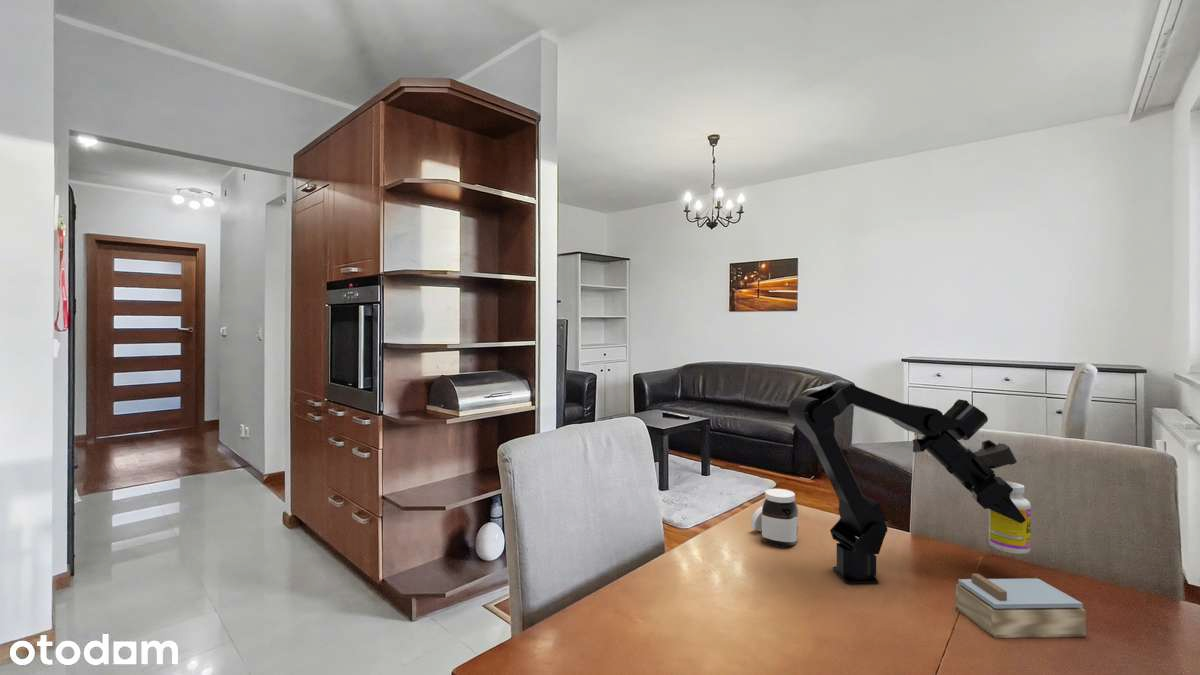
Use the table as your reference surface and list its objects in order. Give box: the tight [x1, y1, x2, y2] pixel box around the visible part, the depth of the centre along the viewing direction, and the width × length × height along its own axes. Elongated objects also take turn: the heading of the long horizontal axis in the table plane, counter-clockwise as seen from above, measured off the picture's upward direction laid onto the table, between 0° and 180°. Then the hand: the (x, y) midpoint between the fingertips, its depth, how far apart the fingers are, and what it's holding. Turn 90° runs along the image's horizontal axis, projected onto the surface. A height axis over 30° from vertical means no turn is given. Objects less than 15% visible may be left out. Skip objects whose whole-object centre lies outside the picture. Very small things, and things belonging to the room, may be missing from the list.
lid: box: [957, 573, 1084, 609], centre depth 89 cm, size 14×9×2 cm, turn 90°
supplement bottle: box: [988, 480, 1032, 555], centre depth 104 cm, size 7×7×13 cm
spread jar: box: [750, 488, 799, 547], centre depth 126 cm, size 12×11×12 cm
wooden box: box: [955, 583, 1087, 639], centre depth 89 cm, size 15×9×4 cm, turn 90°
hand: (1017, 515), depth 103 cm, fingers closed on supplement bottle, 7 cm apart
